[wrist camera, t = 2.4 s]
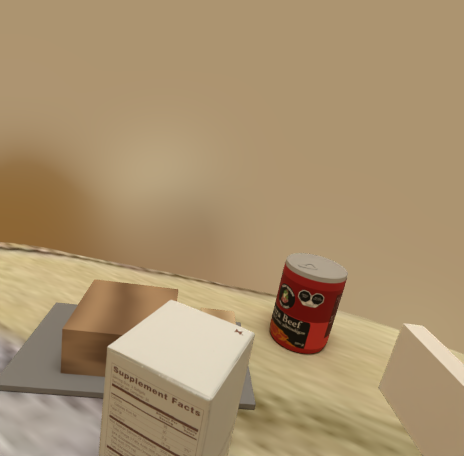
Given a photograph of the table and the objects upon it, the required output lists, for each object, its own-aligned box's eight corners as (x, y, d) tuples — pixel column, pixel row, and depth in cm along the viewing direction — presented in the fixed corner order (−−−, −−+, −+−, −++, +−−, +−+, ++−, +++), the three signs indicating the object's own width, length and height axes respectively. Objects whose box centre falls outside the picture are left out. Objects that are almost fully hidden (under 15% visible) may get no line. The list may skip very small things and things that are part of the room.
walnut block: (173, 324, 44) (178, 289, 42) (165, 381, 34) (171, 339, 33) (92, 315, 42) (94, 279, 41) (60, 373, 33) (62, 328, 31)
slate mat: (239, 326, 47) (240, 322, 47) (254, 409, 34) (255, 404, 34) (56, 306, 44) (56, 302, 44) (-8, 389, 31) (-8, 384, 30)
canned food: (258, 324, 48) (275, 253, 45) (302, 318, 52) (320, 251, 49) (290, 360, 42) (312, 280, 39) (337, 350, 46) (361, 276, 43)
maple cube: (228, 339, 43) (233, 311, 42) (230, 361, 39) (236, 331, 38) (196, 336, 42) (201, 307, 41) (195, 357, 38) (201, 327, 37)
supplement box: (154, 420, 31) (171, 295, 27) (228, 461, 28) (259, 331, 24) (91, 495, 24) (103, 344, 20) (181, 558, 21) (214, 399, 18)
